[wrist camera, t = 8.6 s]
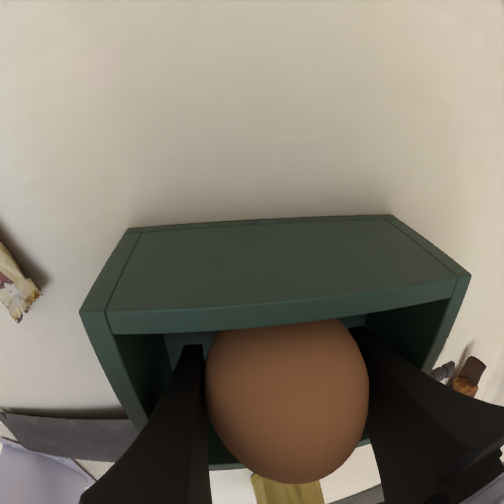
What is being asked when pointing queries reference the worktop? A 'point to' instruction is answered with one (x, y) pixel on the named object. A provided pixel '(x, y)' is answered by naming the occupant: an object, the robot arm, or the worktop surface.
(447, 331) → the tote
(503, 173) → the worktop surface
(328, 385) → the egg
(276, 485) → the vase
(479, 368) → the hand tool
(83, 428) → the flat dark sword
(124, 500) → the robot arm
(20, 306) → the snack bar
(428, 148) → the worktop surface
